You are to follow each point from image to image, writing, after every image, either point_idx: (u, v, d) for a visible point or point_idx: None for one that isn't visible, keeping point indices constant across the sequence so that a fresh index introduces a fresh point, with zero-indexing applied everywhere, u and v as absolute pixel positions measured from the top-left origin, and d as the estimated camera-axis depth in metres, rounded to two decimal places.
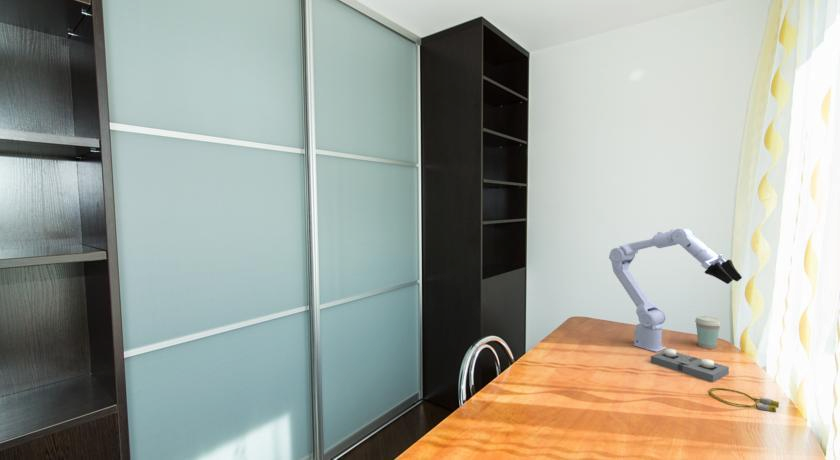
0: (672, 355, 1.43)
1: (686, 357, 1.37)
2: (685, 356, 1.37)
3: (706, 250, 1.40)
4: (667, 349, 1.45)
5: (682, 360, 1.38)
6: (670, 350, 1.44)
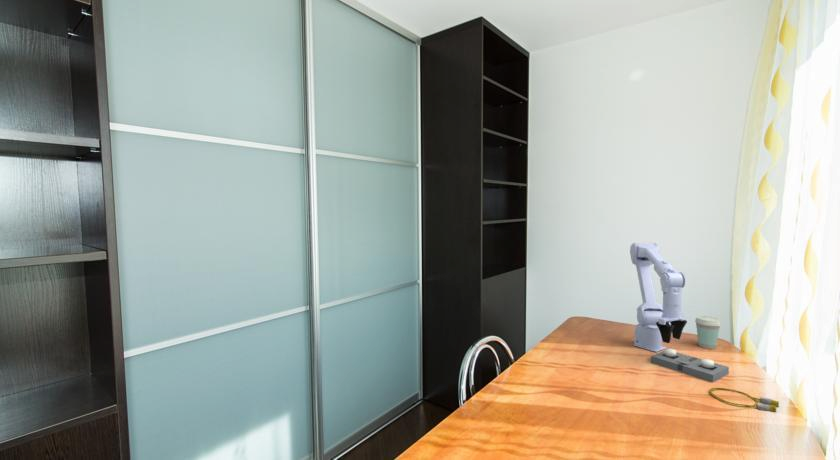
0: (672, 355, 1.43)
1: (686, 357, 1.37)
2: (685, 356, 1.37)
3: (677, 308, 1.40)
4: (667, 349, 1.45)
5: (682, 360, 1.38)
6: (670, 350, 1.44)
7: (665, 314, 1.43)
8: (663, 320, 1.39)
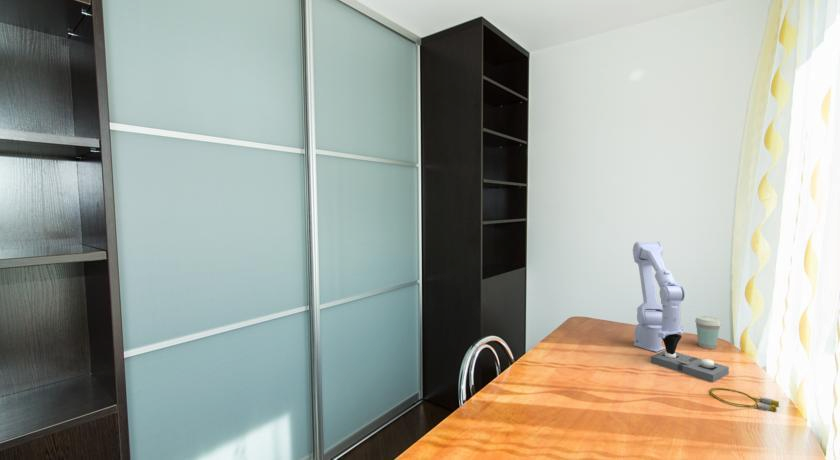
0: (672, 358, 1.43)
1: (686, 357, 1.37)
2: (685, 356, 1.37)
3: (676, 321, 1.41)
4: None
5: (682, 360, 1.38)
6: None
7: (664, 327, 1.43)
8: (662, 334, 1.40)
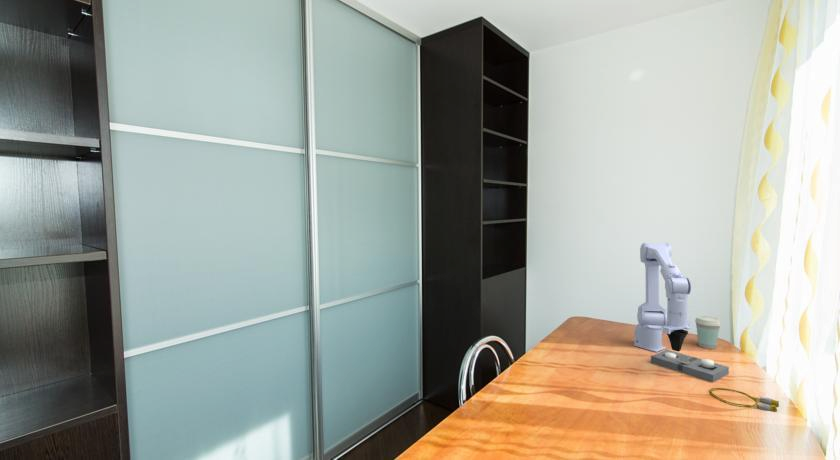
0: None
1: (686, 357, 1.37)
2: (685, 356, 1.37)
3: (682, 316, 1.31)
4: (667, 353, 1.45)
5: (682, 360, 1.38)
6: (670, 354, 1.44)
7: (670, 322, 1.33)
8: (667, 329, 1.29)
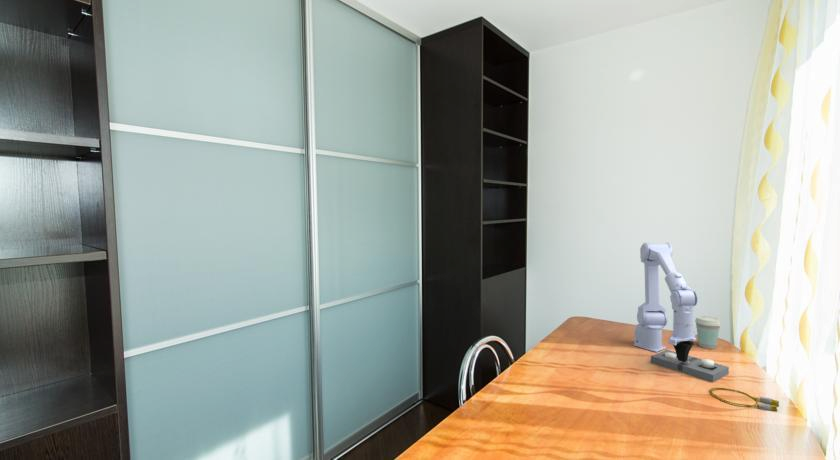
0: None
1: None
2: None
3: (688, 327, 1.33)
4: (667, 353, 1.45)
5: None
6: (670, 354, 1.44)
7: (676, 334, 1.36)
8: (674, 340, 1.32)
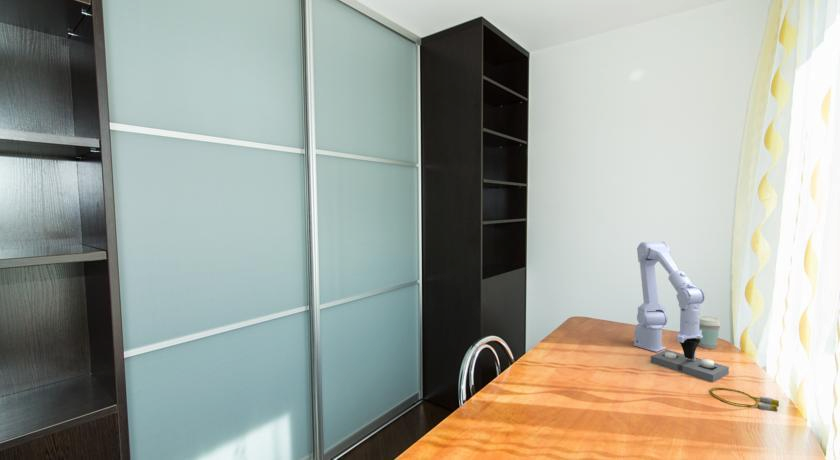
0: None
1: None
2: None
3: (695, 325, 1.36)
4: (667, 353, 1.45)
5: None
6: (670, 354, 1.44)
7: (683, 331, 1.38)
8: (681, 338, 1.35)
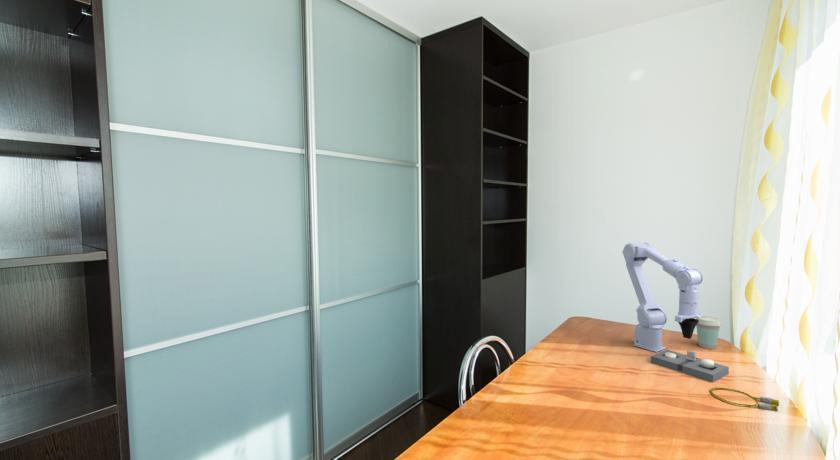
0: None
1: (693, 354, 1.39)
2: (692, 353, 1.40)
3: (693, 306, 1.41)
4: (667, 353, 1.45)
5: (689, 357, 1.40)
6: (670, 354, 1.44)
7: (681, 312, 1.43)
8: (679, 318, 1.40)
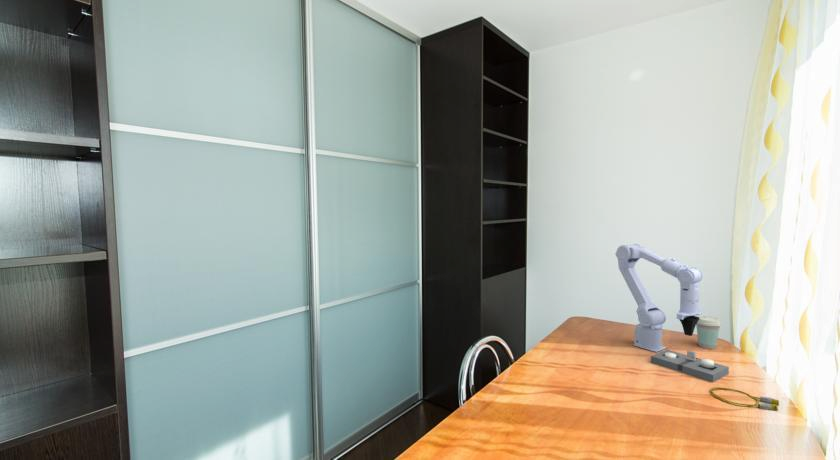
0: None
1: (693, 354, 1.39)
2: (692, 353, 1.40)
3: (694, 303, 1.44)
4: (667, 353, 1.45)
5: (689, 357, 1.40)
6: (670, 354, 1.44)
7: (682, 309, 1.46)
8: (681, 315, 1.42)
